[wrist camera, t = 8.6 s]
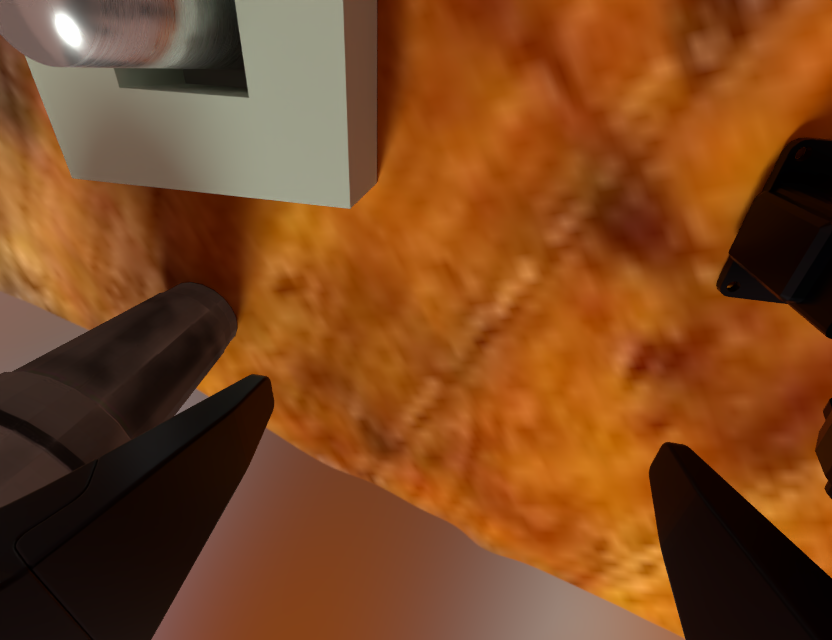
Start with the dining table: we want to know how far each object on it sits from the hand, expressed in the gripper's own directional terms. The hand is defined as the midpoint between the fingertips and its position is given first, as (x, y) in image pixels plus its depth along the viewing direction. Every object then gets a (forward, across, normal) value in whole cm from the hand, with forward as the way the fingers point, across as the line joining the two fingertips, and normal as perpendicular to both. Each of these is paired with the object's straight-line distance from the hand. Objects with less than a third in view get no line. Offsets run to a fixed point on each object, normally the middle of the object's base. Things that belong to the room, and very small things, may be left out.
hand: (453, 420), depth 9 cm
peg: (+12, +11, -8) cm, 18 cm away
